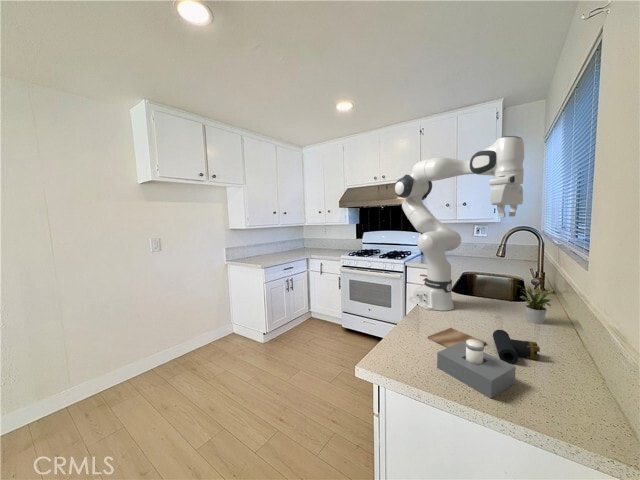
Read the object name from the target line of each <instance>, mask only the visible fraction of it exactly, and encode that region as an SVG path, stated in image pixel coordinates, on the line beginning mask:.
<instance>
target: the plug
mask: <svg viewBox="0 0 640 480" xmlns="http://www.w3.org/2000/svg"><path fill="white" fill-rule="evenodd" d="M484 347H485V345H484V344H483V343H482V342H480V341H478V340H473V339H469V340H467V341H466V360H467V361H469V362H471V363H473V364H475V365H477V366H479V365H481V364H482V363H483V352H484V349H485V348H484Z"/></svg>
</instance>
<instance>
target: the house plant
mask: <svg viewBox="0 0 640 480" xmlns="http://www.w3.org/2000/svg"><path fill="white" fill-rule="evenodd" d="M516 286H517V287H519V288H522V286H520V285H516ZM543 290H544V288H542V289H541V288H540V285H538V286H537V288H536V291H535V294H533V291H532V287H530V286H529V285H525V289H524V291H522V290H521V291H520V292H522V293H523V294H524V295H525V296H524V295H521V296H520V298H521V299H523V300H525V301H526V305H525V311H526V312H525V313H526V319H527V321H528V322H529V323H532V324H537V325H542V324H544V321H545V317H546V314H547V311H548V310H547V308H546V305H547V306H548V307H550V309H551V306H552V305H551V304H550V303H549V302H551V303H552V300H551V299H549V298H546V297H547V296H549V295H551V294H553V295H554V293H553V291H554V289H550V290H548V291H547V292H545V293H544V294H542V293H541V292H542V291H543Z"/></svg>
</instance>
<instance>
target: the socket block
mask: <svg viewBox="0 0 640 480" xmlns="http://www.w3.org/2000/svg"><path fill="white" fill-rule="evenodd" d="M436 355H437V356H436V357H437V358H436V359H437V360H436V361H437V362H436V365H437V366H436V368H437V369H439V370H441V371H442V372H444V373H447V374H448V375H449V376H451V377H453V378H455V379H456V380H458V381H460V382H461V383H463V384H464V385H467V386H468V387H470V388H472V389H473V390H475V391H477V392H479V393H480V394H481V395H484V396H485V397H487V398H489V399H493V398H495V397H496V396H498V395H499V394H500V393H502V392H503V391H505V390H507V389H508V388H510V387H511V386H513V385H514V384H515V383H516V369H517V367H516V365H515V364H509V363H507V362H505V361H502V360H500V358H497V357H495V356H494V355H490V354H489V353H486V352H484V351H483V363H482V364H481V365H479V366H477V365H475V364H473V363H471V362H469V361H467V360H466V344H464V343H462V342H460V343H458V344H456V345H453V346H451V347H449V348H446V347H445V349H442V350H440V351H437V353H436Z"/></svg>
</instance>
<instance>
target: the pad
mask: <svg viewBox="0 0 640 480" xmlns="http://www.w3.org/2000/svg"><path fill="white" fill-rule="evenodd" d="M427 339H428V340H431V341H432V342H434V343H436V344H439V345H441V346H442V347H444V348H445V349H446V348H449V347H451V346H453V345H456V344H458V343H460V342H462V343H464V344H466V341H467V340H469V339H473V340H478V341H480V342H482V343H483V344H484V346H486V345H487V342H486V341H485V340H482V339H479V338H477V337H475V336H472V335H469V334H467V333H464V332H463V331H459V330H457V329H456V328H455V329H454V328H452V327H449V328H447V329H446V328H445V329H444V330H441V331H439V332H435V333H433V334H430V335H428V336H427Z"/></svg>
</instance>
